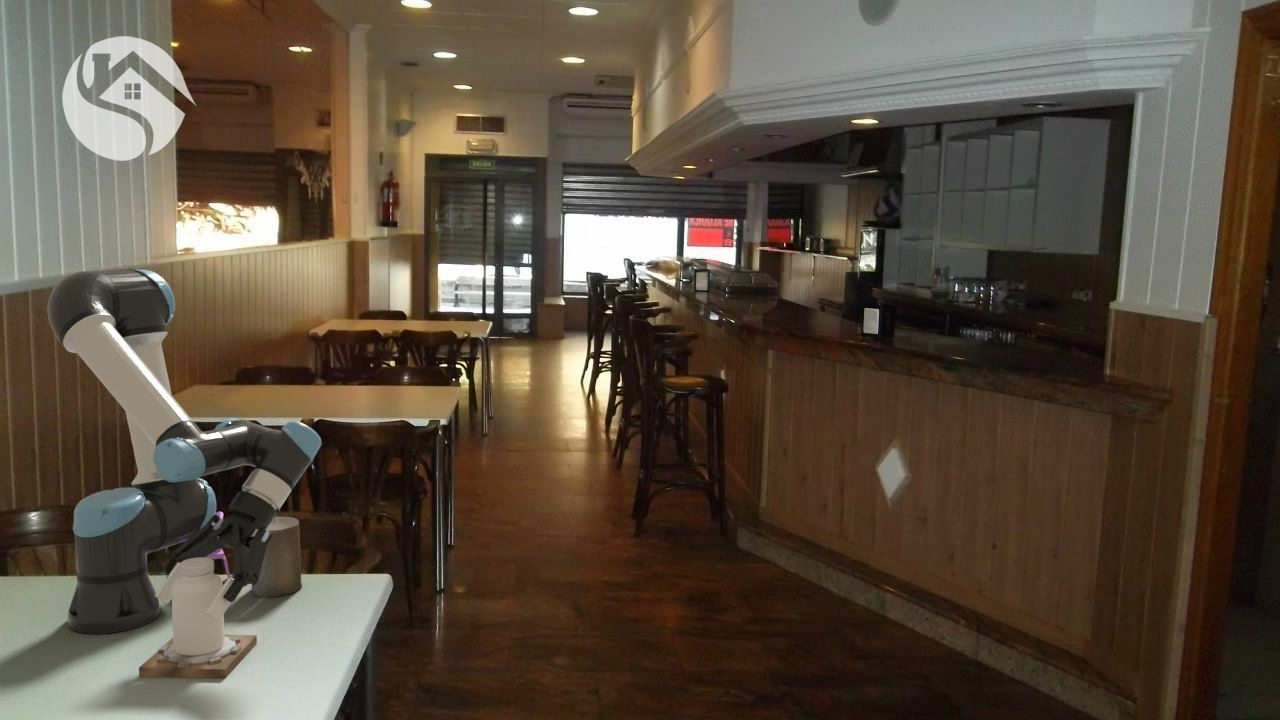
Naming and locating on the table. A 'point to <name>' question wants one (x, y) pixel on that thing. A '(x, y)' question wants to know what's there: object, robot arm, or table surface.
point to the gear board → (199, 660)
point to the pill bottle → (196, 608)
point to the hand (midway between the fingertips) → (185, 608)
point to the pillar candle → (281, 560)
